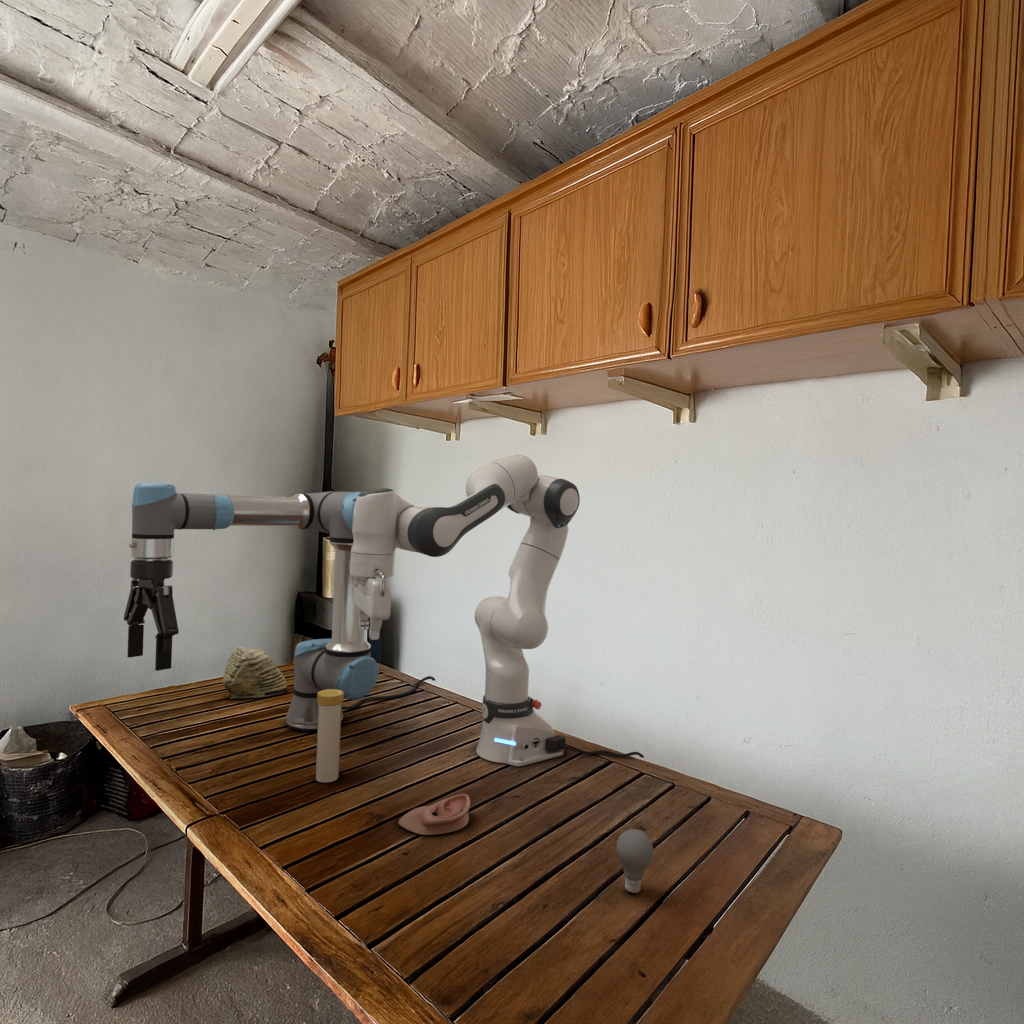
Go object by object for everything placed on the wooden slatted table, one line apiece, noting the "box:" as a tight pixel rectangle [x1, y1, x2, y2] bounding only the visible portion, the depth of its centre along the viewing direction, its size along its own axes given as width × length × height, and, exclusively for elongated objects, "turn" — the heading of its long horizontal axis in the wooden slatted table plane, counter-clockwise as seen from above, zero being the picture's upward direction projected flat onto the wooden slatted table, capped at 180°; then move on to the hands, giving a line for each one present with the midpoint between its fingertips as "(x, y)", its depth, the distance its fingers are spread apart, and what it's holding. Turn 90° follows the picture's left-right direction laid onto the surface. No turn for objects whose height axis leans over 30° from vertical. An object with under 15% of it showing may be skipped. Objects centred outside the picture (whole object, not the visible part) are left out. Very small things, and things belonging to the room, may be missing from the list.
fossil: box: [222, 646, 288, 699], centre depth 198 cm, size 9×18×15 cm, turn 132°
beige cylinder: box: [315, 702, 343, 784], centre depth 143 cm, size 5×5×19 cm
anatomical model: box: [397, 793, 471, 836], centre depth 125 cm, size 13×4×12 cm
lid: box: [317, 689, 345, 706], centre depth 143 cm, size 6×6×2 cm
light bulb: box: [615, 828, 654, 894], centre depth 106 cm, size 6×6×10 cm
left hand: (148, 662), depth 129 cm, fingers open, 13 cm apart
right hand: (368, 634), depth 130 cm, fingers open, 8 cm apart
